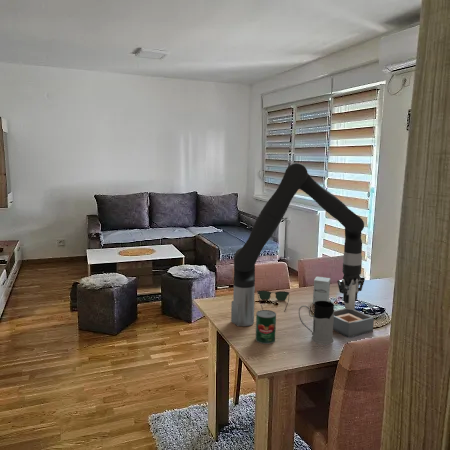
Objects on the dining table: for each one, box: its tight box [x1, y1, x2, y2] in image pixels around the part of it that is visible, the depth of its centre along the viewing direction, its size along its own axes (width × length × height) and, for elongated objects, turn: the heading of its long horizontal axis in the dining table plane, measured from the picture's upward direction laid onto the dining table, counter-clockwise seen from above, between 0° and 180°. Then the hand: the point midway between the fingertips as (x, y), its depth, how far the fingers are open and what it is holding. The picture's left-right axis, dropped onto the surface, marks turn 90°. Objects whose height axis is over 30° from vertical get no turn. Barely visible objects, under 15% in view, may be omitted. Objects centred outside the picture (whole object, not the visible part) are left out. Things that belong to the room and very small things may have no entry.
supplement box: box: [312, 276, 331, 305], centre depth 204 cm, size 7×7×13 cm
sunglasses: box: [256, 290, 290, 312], centre depth 201 cm, size 16×17×5 cm
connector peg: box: [344, 281, 356, 310], centre depth 171 cm, size 4×4×12 cm
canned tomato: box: [255, 309, 277, 345], centre depth 161 cm, size 8×8×11 cm
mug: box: [298, 301, 335, 345], centre depth 162 cm, size 9×14×15 cm, turn 81°
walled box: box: [333, 307, 375, 339], centre depth 173 cm, size 14×14×6 cm
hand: (350, 301), depth 172 cm, fingers closed on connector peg, 4 cm apart
